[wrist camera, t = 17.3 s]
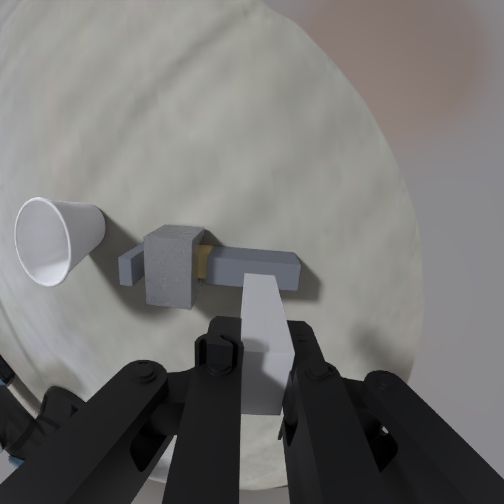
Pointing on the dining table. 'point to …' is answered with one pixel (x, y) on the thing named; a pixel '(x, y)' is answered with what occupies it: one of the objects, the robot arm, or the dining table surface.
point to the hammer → (223, 266)
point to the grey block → (172, 266)
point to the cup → (56, 237)
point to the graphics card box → (5, 373)
